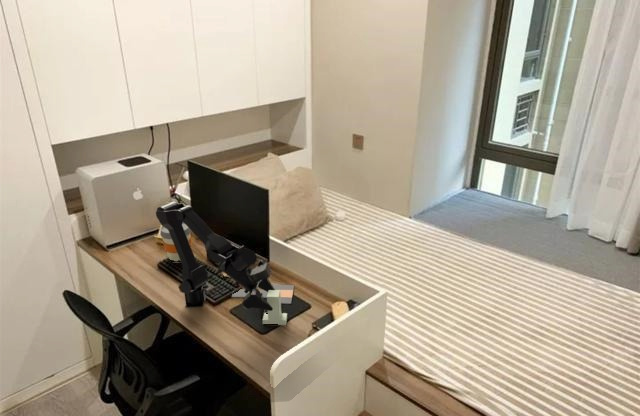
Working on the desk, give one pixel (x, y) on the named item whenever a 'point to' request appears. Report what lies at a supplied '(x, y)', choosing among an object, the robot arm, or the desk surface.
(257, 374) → the desk surface
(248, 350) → the desk surface
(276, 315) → the t post
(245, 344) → the desk surface
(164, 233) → the reusable coffee cup
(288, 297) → the t mat
